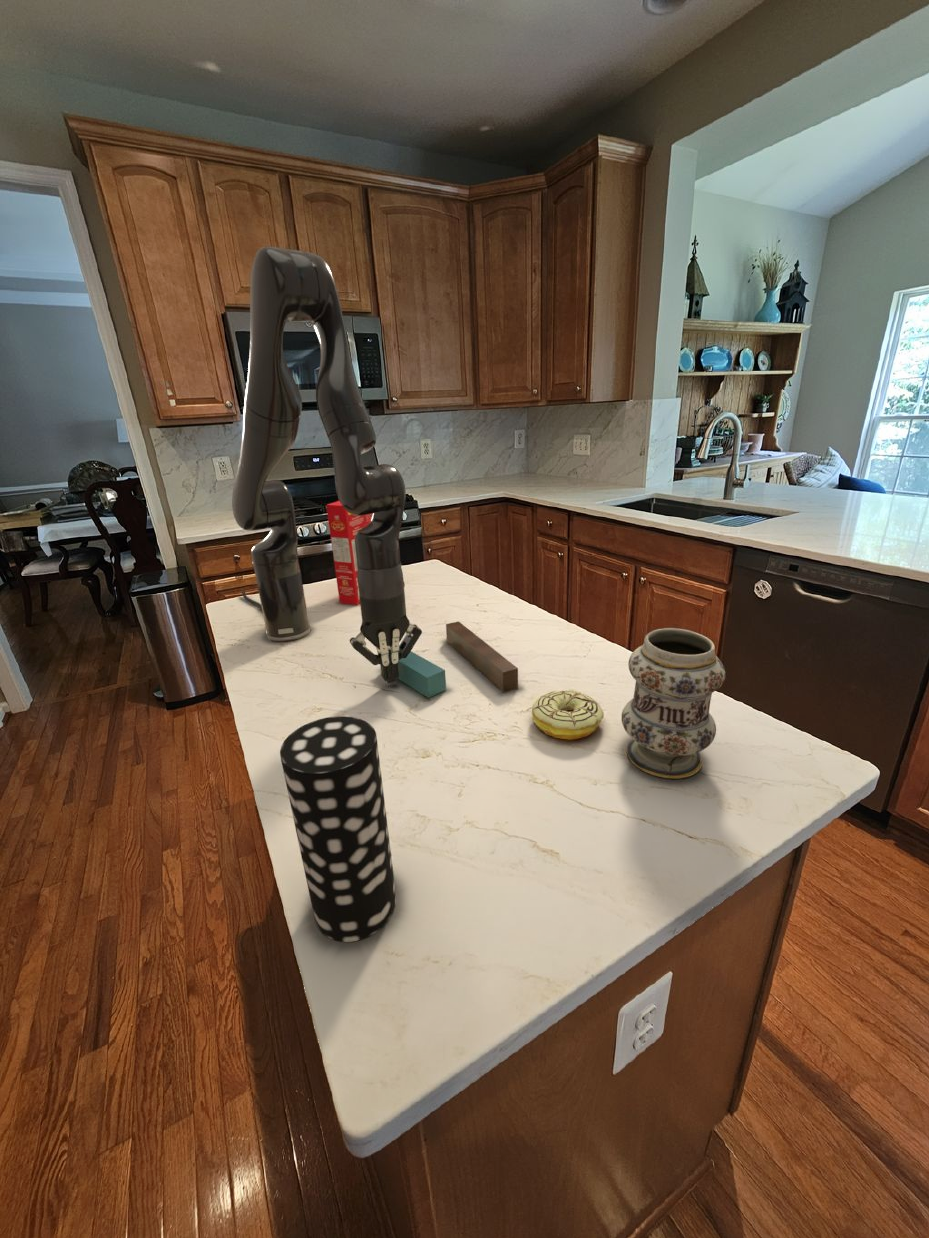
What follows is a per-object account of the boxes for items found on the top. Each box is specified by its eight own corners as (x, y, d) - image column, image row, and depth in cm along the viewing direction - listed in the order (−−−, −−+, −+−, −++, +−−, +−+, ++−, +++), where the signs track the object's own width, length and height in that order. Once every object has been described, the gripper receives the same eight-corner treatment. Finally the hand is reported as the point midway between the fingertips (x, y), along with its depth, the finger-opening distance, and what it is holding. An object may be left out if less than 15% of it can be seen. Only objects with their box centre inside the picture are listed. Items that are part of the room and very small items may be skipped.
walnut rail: (446, 641, 112) (445, 624, 111) (459, 638, 113) (458, 621, 112) (503, 692, 92) (503, 672, 90) (518, 688, 93) (518, 668, 92)
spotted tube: (321, 874, 58) (291, 719, 50) (397, 866, 59) (379, 713, 51) (307, 946, 50) (269, 777, 43) (394, 937, 51) (373, 768, 43)
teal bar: (384, 670, 101) (382, 651, 100) (401, 663, 104) (400, 645, 102) (428, 698, 91) (426, 677, 90) (446, 690, 94) (445, 670, 92)
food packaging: (371, 584, 148) (360, 494, 139) (387, 586, 146) (378, 494, 137) (339, 602, 136) (326, 504, 126) (357, 605, 134) (344, 505, 124)
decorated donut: (614, 720, 83) (616, 700, 82) (577, 753, 76) (579, 731, 74) (557, 698, 90) (558, 678, 88) (519, 726, 82) (519, 705, 81)
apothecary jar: (728, 761, 73) (750, 643, 66) (673, 798, 67) (692, 672, 60) (654, 721, 82) (667, 614, 75) (600, 751, 76) (609, 637, 69)
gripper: (411, 577, 94) (417, 664, 101) (337, 590, 89) (349, 680, 96) (426, 589, 88) (432, 681, 95) (348, 604, 83) (360, 699, 89)
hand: (390, 680), depth 95 cm, fingers closed
